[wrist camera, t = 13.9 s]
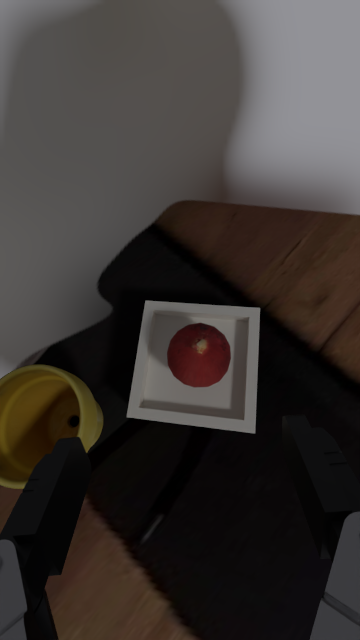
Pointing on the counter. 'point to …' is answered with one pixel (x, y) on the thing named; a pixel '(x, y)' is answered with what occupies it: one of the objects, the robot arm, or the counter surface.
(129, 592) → the counter surface
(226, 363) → the onion
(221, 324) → the tray
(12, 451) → the plant pot
